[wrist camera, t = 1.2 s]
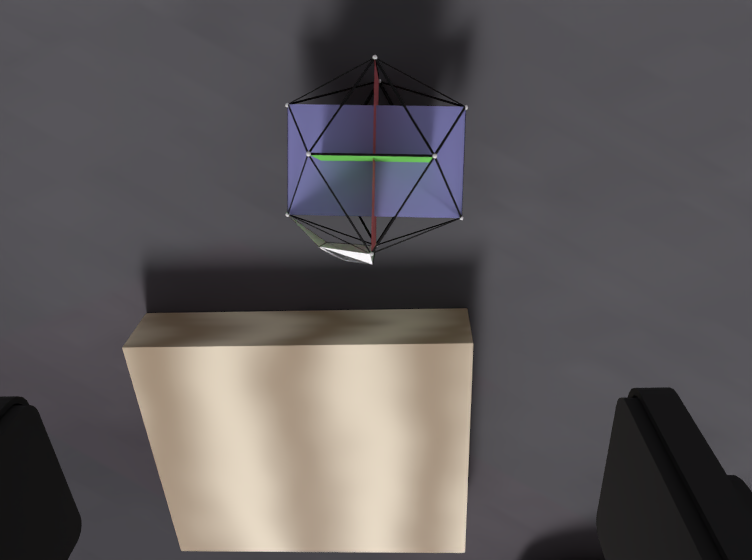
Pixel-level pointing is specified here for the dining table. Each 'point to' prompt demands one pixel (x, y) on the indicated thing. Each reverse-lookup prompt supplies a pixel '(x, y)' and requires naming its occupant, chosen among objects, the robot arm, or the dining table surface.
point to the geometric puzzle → (374, 163)
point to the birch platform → (309, 427)
